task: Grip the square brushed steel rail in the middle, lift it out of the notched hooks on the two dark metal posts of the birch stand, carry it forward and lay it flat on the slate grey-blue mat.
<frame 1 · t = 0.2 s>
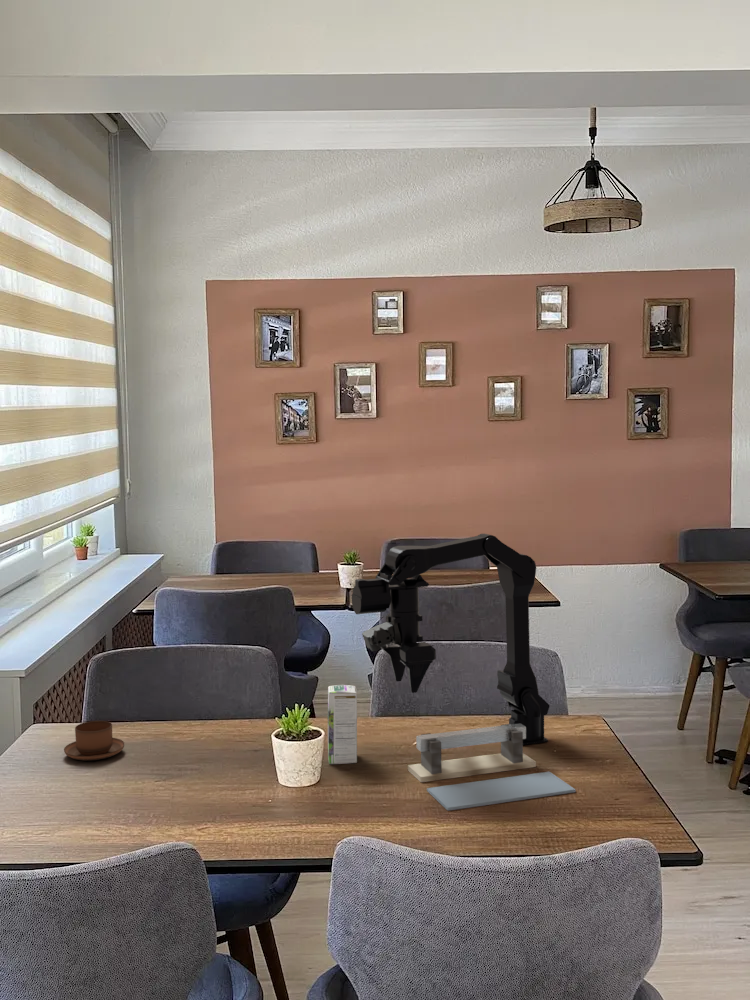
hand: (406, 686, 204), 14 cm above the table, fingers open, 9 cm apart
rail stand: (472, 768, 198), on the table
syrup box: (342, 760, 204), on the table
rail: (471, 743, 198), point 5 cm above the table, touching rail stand
mat: (500, 791, 186), on the table
cup and saucer: (94, 756, 210), on the table
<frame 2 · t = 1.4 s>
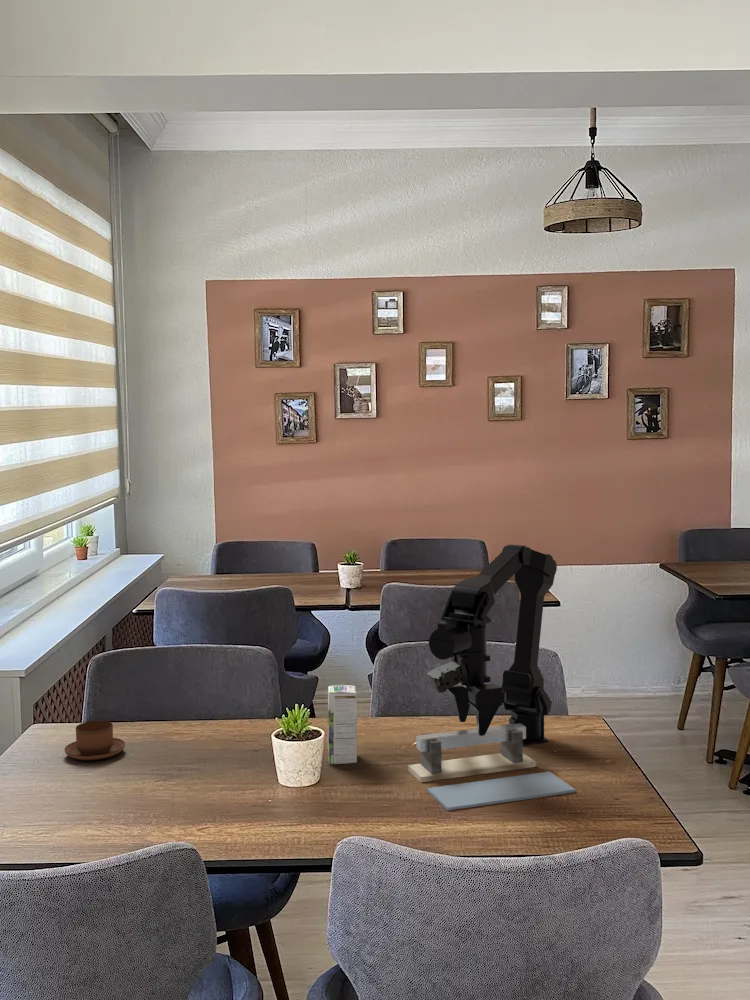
hand: (472, 728, 197), 8 cm above the table, fingers open, 9 cm apart
nothing on the table moved.
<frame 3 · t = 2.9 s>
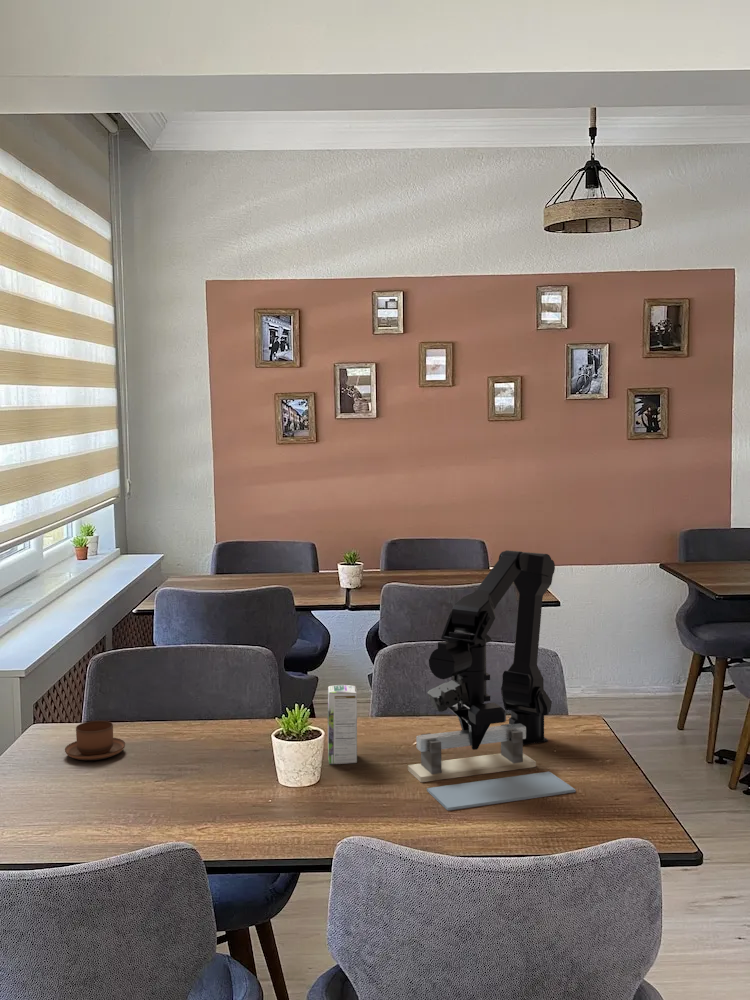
hand: (471, 747, 198), 4 cm above the table, fingers closed on rail, 2 cm apart
rail: (471, 743, 198), point 5 cm above the table, touching gripper, rail stand
everything else where it was.
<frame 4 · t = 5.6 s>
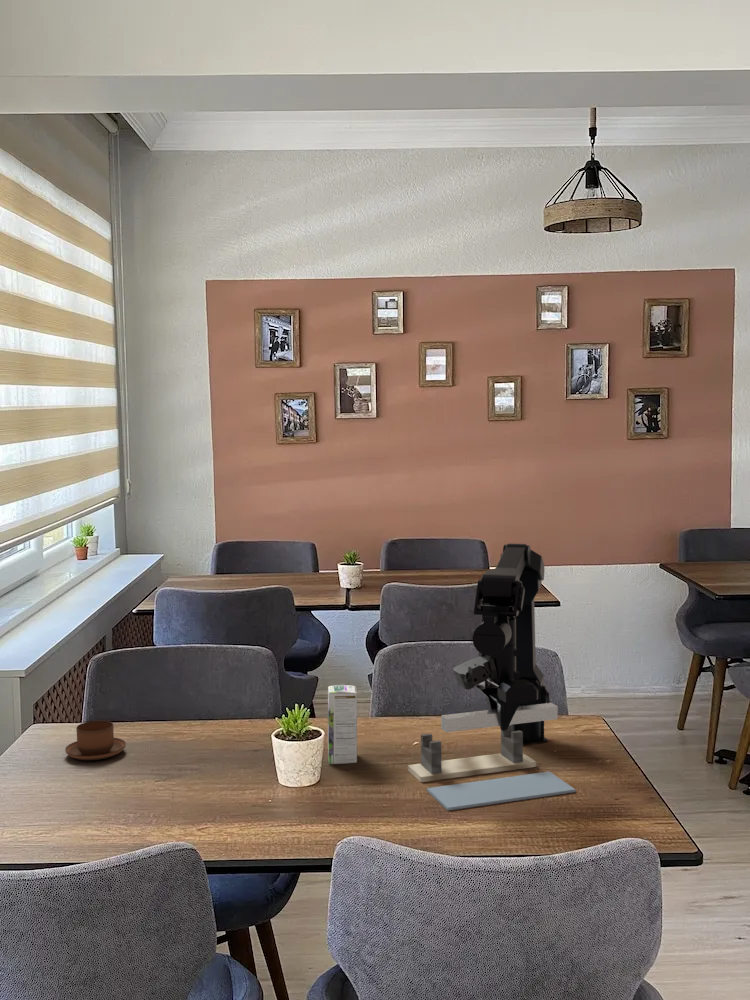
hand: (500, 728, 185), 12 cm above the table, fingers closed on rail, 2 cm apart
rail: (500, 723, 185), point 13 cm above the table, touching gripper
everything else where it was.
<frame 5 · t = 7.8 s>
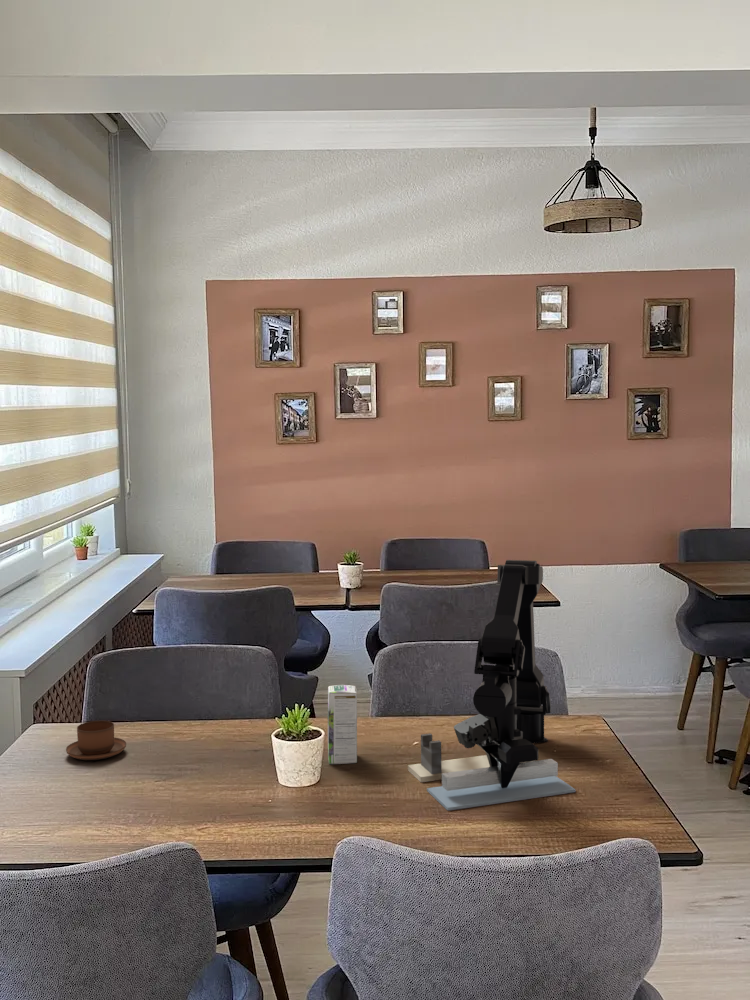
hand: (500, 785, 186), 1 cm above the table, fingers closed on rail, 2 cm apart
rail: (500, 780, 186), point 2 cm above the table, touching gripper
everything else where it was.
when the fingers open (1 cm above the table, at t = 8.1 s): rail drops 1 cm, resting on mat.
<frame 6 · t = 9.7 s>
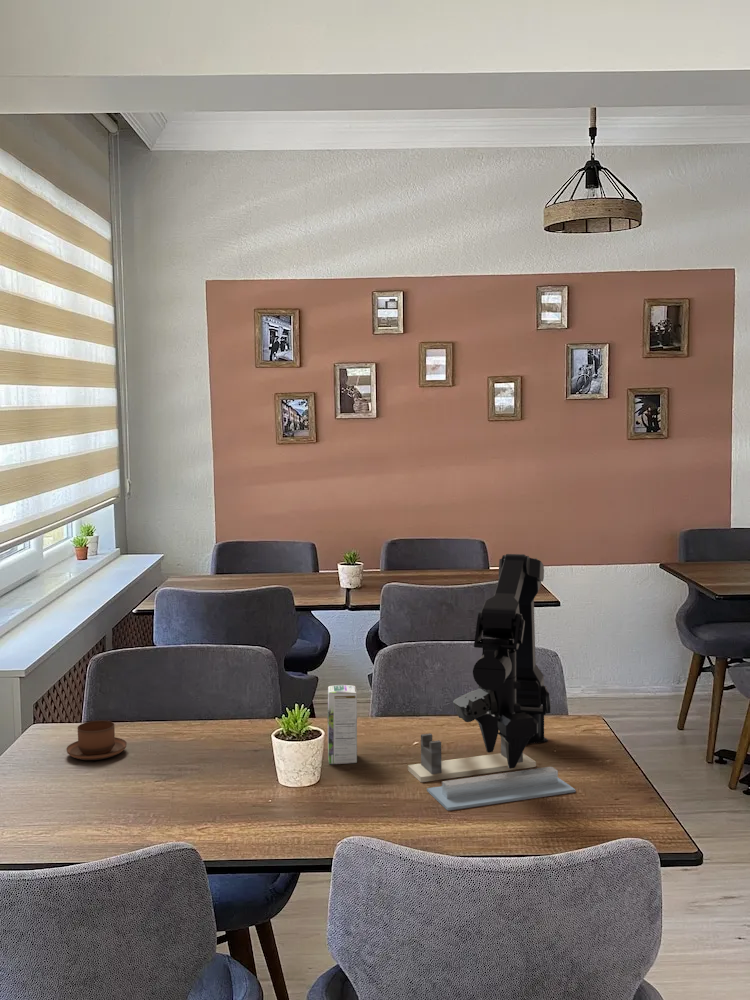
hand: (500, 759, 185), 6 cm above the table, fingers open, 9 cm apart
rail: (500, 788, 186), resting on mat
everything else where it was.
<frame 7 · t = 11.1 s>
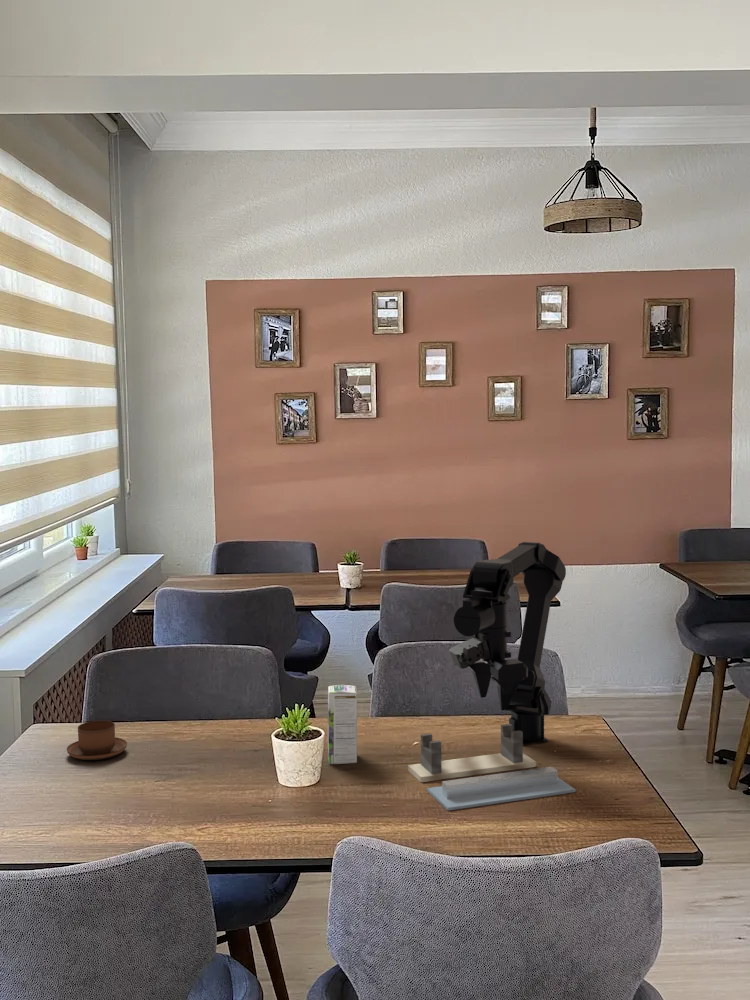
hand: (493, 703, 201), 12 cm above the table, fingers open, 9 cm apart
nothing on the table moved.
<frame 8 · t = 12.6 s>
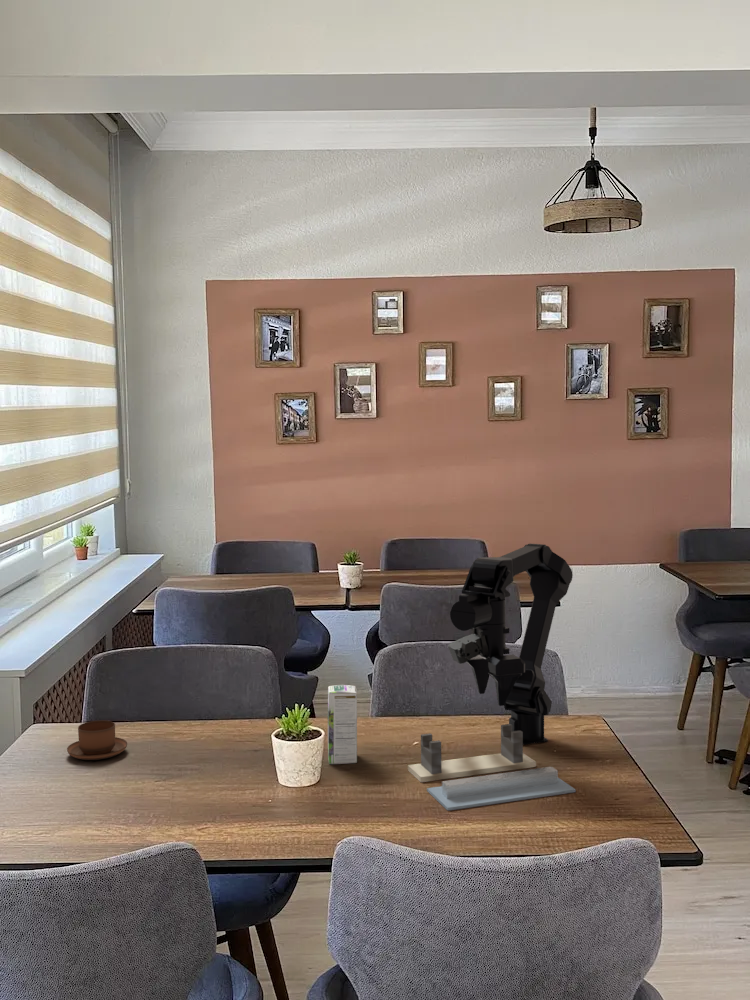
hand: (491, 699, 203), 12 cm above the table, fingers open, 9 cm apart
nothing on the table moved.
at the end: rail inside the target area on the mat (0.0 cm from its centre), point 0.5 cm above the mat's base; rail touching mat; the gripper is holding nothing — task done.
